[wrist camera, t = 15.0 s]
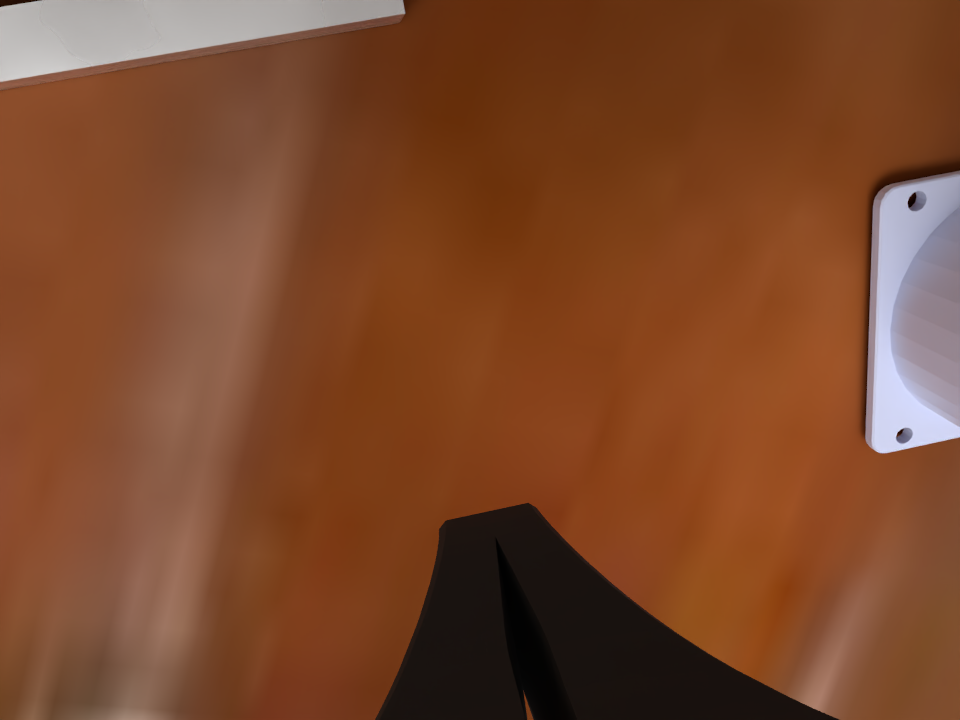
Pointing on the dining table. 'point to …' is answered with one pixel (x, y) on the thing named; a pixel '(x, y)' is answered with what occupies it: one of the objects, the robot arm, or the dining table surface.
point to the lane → (161, 31)
